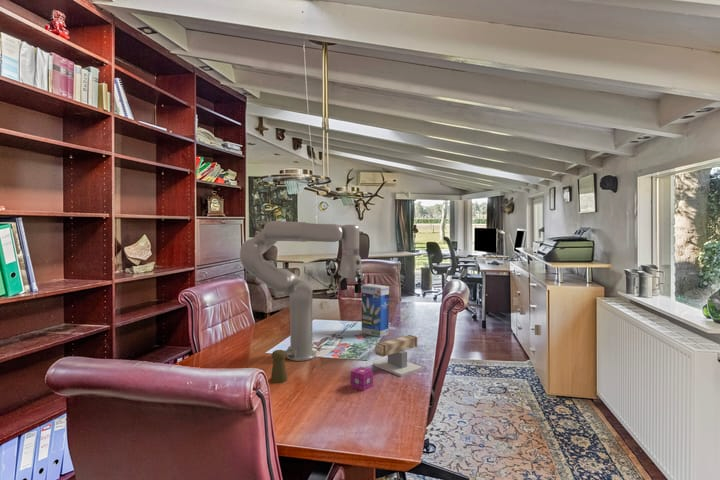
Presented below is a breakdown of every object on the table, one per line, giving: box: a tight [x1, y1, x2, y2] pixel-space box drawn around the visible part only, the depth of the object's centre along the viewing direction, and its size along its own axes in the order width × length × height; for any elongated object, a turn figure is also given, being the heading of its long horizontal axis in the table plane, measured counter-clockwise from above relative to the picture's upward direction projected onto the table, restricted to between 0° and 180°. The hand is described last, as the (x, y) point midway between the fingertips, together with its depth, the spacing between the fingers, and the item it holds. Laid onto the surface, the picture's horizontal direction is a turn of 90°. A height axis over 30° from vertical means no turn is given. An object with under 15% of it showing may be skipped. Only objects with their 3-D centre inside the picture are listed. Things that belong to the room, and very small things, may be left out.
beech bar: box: [374, 334, 418, 358], centre depth 156 cm, size 20×4×4 cm, turn 130°
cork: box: [270, 349, 288, 384], centre depth 143 cm, size 6×6×11 cm
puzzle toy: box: [350, 366, 374, 392], centre depth 138 cm, size 6×6×6 cm
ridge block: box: [372, 350, 423, 377], centre depth 156 cm, size 12×16×7 cm
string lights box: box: [361, 283, 390, 338], centre depth 205 cm, size 13×8×26 cm, turn 49°
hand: (350, 291), depth 171 cm, fingers open, 9 cm apart
